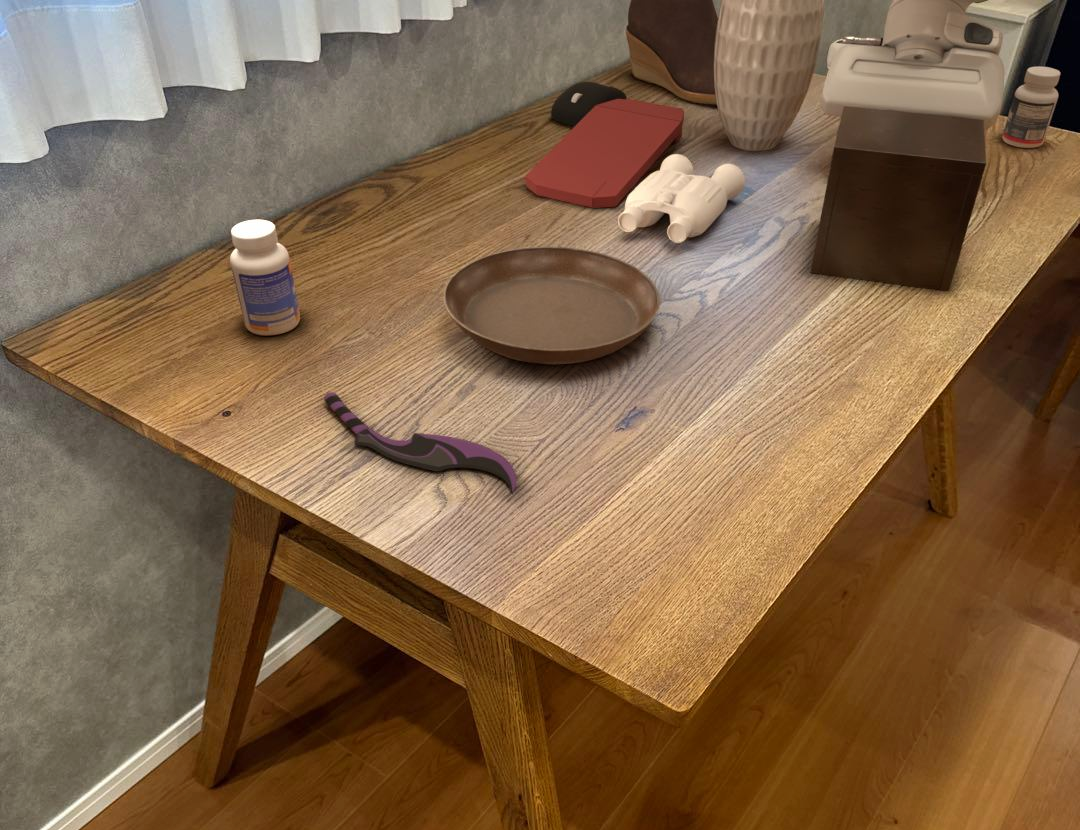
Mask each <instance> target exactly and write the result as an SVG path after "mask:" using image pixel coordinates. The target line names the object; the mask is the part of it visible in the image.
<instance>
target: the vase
mask: <svg viewBox="0 0 1080 830" xmlns="http://www.w3.org/2000/svg"><path fill="white" fill-rule="evenodd" d="M824 14H825V0H720V3H719V9H718V14H717V17H718V22H717V29H716V38H715V48H714V88H715V94H716V101H717V104H716V106H717V110H718V114H719V119H720V121H721V125H722V127H723V129H724V132H725V134H726V136H727V139H728V141H729V143H730V145H732V146H733V147H735V148H736V149H739V150H741V151H742V150H743V151H747V152H765V151H770V150H772V149H774V148H775V147H777V145H778V144H779V143H780V141H781V140H782V139H783V137H784V136H785V135H786V133H787V132H788V131H789V129H790V128H791V127H792V126H793V123H794V121H795V120H796V117H797V116H798V114H799V112H800V111H801V108H802V106H803V103H804V101H805V99H806V96H807V94H808V92H809V88H810V85H811V83H812V79H813V76H814V74H815V73H814V72H815V68H816V64H817V60H818V55H819V50H820V44H821V40H822V39H821V38H822V33H823V24H824Z"/></svg>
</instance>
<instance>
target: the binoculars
mask: <svg viewBox="0 0 1080 830" xmlns="http://www.w3.org/2000/svg"><path fill="white" fill-rule="evenodd" d="M745 184H746V179H745V175H744V172H743V171H742V170H741V168H740V167H738V165H736V164H733V163H724V164H721V165H719V166H718V167H716V169H715V170H714V171H713V173H712V176H710V177H709V176H705V175H697V174H694V168H693V164H692V162H691V160H689V158H688V157H686V156H685V155H683V154H679V153H673V154H670V155H668V156H667V157H666V158H664V159H663V161H662V162H661V164H660V168H659V170H656V171H654V172H652V173H650V174H649V175H648V176H647V177H645V179H643V180H642V181H641V182H640V183H639V184H638V185H637V186H636V187H634V189H633V190H632V191H631V192H630V193H629V194H628V195H627V197H626V200H625V202H624V210H623V211H622V212H621V213H620V214H619V215H618V217H617V225H618V227H619V228H620V229H621V230H622V231H623V232H625V233H632V232H634V231H635V230H636V229H637V228H647V227H651V226H653V225H655V224H656V223H657V222H658V221H659V220H660V219H661V218H662V217H663V216H664V215H665V214H668V216H669V223H670V224H669V225H668V227H667V230H666V234H667V237H668V238H669V240H670V241H672V242H673V243H676V244H680V243H683V242H685V240H686V239H687V238H694V237H698V236H701V235H702V234H704V233H705V232H706V231H707V230H708V228H709V227H710V226H711V225H712V224H713V223H714V221H716V220H717V218H719V216H720V215H721V214H722V213H723V212H724V210H725V208H726V207H727V205H728V200H731V199H735V198H737V197H738V196H739V195H741V193H742V192H743V191H744V188H745Z"/></svg>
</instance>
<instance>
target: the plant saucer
mask: <svg viewBox="0 0 1080 830" xmlns="http://www.w3.org/2000/svg"><path fill="white" fill-rule="evenodd" d="M444 286H445V287H444V289H443V296H442V297H443V303H444V307H445V309H446V311H447V312H448V314H449V315H450V318H451V319H452V320H453V321H454V323H455V324H456V325H457V326H458V327H459V328H460V330H461V331H463V332H464V334H466V335H467V336H468V337H469V338H470V339H472V340H473V341H474V342H475V343H477V344H479V345H480V346H482V347H483V348H485V349H486V350H489V351H491V352H493V353H495V354H497V355H500V356H502V357H505V358H509V359H511V360H515V361H520V362H524V363H530V364H531V363H532V364H540V365H541V364H542V365H570V364H578V363H584V362H588V361H592V360H596V359H599V358H602V357H605V356H608V355H610V354H612V353H614V352H617V351H618V350H620V349H622V348H623V347H625V346H627V345H628V344H630V343H632V342H633V341H634V340H635V339H637V338H638V337H639V336H640V335H641V334H642V333H644V332H645V331H646V329H647V328H648V327H649V326H650V325H651V323H652V322H653V321H654V319H655V318H656V316H657V314H658V313H659V311H660V306H661V296H660V292H659V289H658V288H657V285H656V284H655V283H654V281H653V280H652V279H651V278H650V277H649V276H648V275H647V274H645V272H643V271H642V270H640V269H639V268H638V267H636V266H634V265H633V264H631V263H629V262H626V261H625V260H623V259H620V258H617V257H615V256H612V255H609V254H605V253H602V252H599V251H593V250H589V249H583V248H576V247H566V246H528V247H520V248H518V247H517V248H512V249H506V250H503V251H499V252H495V253H491V254H488V255H485V256H481V257H480V258H477V259H475V260H473V261H471V262H469V263H467V264H465V265H464V266H462V267H461V268H459V269H458V270H457V271H456V272H454V273H453V274H452V276H450V278H449V279H448V281H447V282H446V284H445V285H444Z"/></svg>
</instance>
